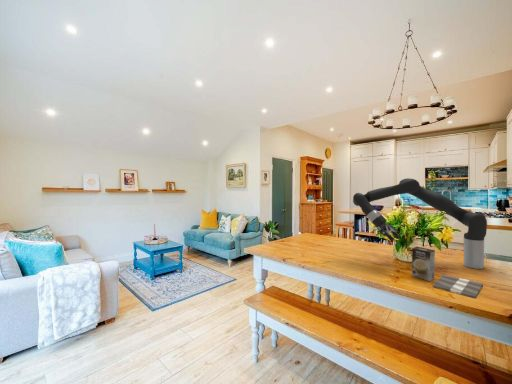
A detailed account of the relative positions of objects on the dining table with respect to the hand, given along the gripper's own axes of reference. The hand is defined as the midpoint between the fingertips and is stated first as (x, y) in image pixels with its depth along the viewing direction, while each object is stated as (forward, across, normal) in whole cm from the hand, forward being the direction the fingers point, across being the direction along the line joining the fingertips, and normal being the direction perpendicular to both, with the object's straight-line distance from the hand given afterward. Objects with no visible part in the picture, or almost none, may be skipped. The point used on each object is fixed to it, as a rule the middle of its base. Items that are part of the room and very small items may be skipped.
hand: (396, 239), depth 141 cm
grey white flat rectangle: (+34, 0, -7) cm, 34 cm away
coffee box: (+23, 0, +4) cm, 24 cm away
